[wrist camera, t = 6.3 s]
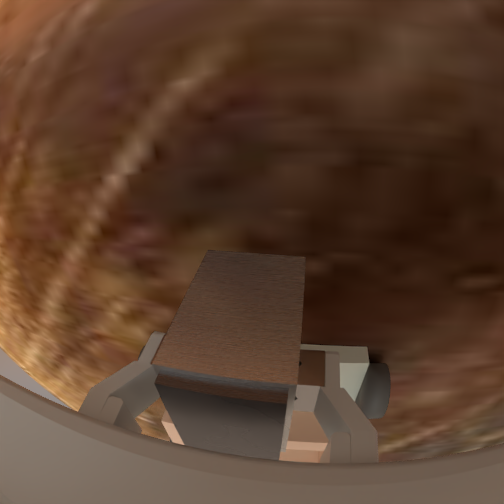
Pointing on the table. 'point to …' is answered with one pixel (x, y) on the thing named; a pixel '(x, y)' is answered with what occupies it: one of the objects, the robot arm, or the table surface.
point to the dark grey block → (235, 354)
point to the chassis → (305, 423)
